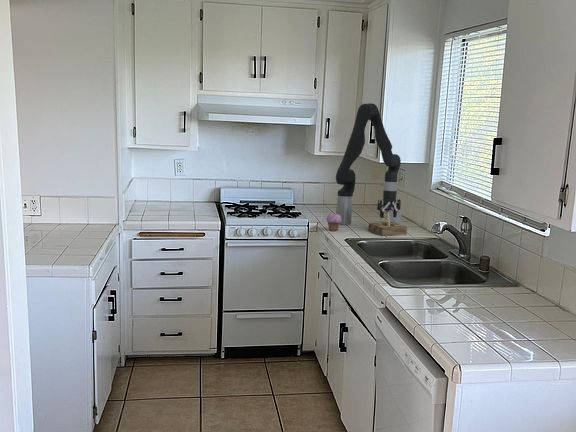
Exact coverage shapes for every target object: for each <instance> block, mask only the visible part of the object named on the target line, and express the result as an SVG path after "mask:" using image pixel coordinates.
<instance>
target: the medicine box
mask: <svg viewBox="0 0 576 432" xmlns="http://www.w3.org/2000/svg"><path fill="white" fill-rule="evenodd" d="M402 213H403V212H398V211H397V216H396V217H393V211H389V219H390V222H394V223H397V224H400V225H402V216H403V215H402Z"/></svg>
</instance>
